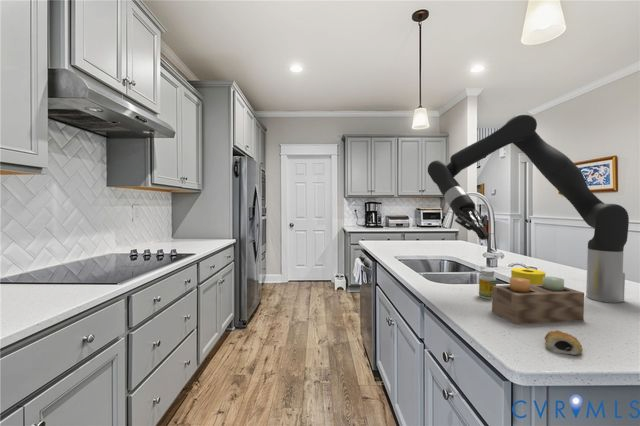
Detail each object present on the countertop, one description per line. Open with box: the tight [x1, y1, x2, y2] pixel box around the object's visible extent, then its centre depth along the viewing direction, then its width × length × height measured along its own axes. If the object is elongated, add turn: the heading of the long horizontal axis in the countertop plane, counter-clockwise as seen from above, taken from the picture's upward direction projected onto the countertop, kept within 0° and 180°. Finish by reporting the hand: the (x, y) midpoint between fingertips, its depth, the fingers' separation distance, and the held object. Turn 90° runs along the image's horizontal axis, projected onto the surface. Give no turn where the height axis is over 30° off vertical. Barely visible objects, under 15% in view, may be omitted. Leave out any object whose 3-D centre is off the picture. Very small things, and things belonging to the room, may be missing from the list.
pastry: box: [544, 330, 583, 356], centre depth 73 cm, size 9×7×4 cm
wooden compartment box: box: [491, 284, 585, 325], centre depth 92 cm, size 21×10×8 cm, turn 97°
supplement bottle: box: [478, 268, 497, 300], centre depth 111 cm, size 5×5×10 cm
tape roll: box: [510, 267, 546, 285], centre depth 111 cm, size 10×10×9 cm
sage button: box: [543, 276, 565, 291], centre depth 93 cm, size 5×5×3 cm
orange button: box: [509, 277, 530, 292], centre depth 91 cm, size 5×5×3 cm
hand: (485, 238), depth 103 cm, fingers closed
